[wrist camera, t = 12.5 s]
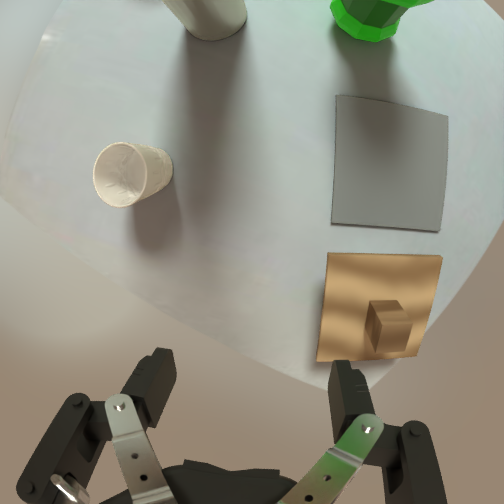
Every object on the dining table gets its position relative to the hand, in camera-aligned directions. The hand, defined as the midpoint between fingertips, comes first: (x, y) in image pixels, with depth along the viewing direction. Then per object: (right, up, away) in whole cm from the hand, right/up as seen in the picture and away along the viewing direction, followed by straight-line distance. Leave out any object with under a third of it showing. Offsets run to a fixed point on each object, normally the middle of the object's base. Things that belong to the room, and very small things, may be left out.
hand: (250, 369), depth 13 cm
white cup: (-15, +18, +27) cm, 36 cm away
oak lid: (+17, -2, +23) cm, 29 cm away
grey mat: (+20, +18, +23) cm, 36 cm away
